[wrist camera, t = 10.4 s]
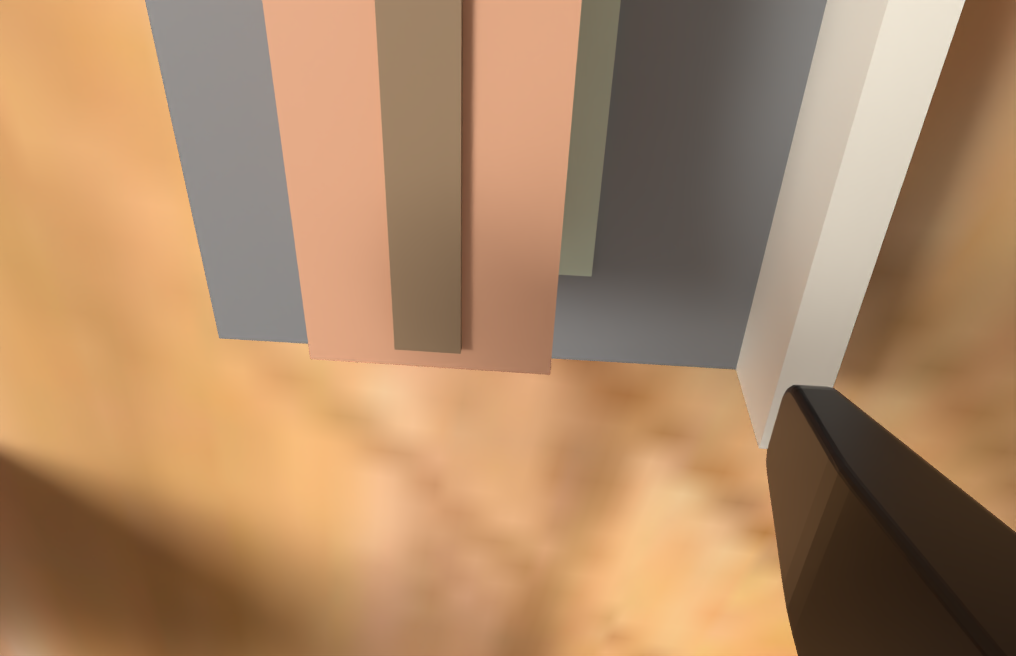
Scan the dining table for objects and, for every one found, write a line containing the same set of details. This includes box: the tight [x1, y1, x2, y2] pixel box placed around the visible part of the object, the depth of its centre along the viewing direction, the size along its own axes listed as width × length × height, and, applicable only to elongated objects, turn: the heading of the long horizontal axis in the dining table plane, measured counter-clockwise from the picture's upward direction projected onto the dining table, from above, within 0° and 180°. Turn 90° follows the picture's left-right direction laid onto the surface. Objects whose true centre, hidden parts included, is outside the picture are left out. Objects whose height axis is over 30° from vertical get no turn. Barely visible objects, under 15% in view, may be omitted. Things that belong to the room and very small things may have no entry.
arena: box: [145, 0, 965, 449], centre depth 16 cm, size 15×14×4 cm
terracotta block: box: [262, 0, 582, 375], centre depth 14 cm, size 8×4×5 cm, turn 178°
